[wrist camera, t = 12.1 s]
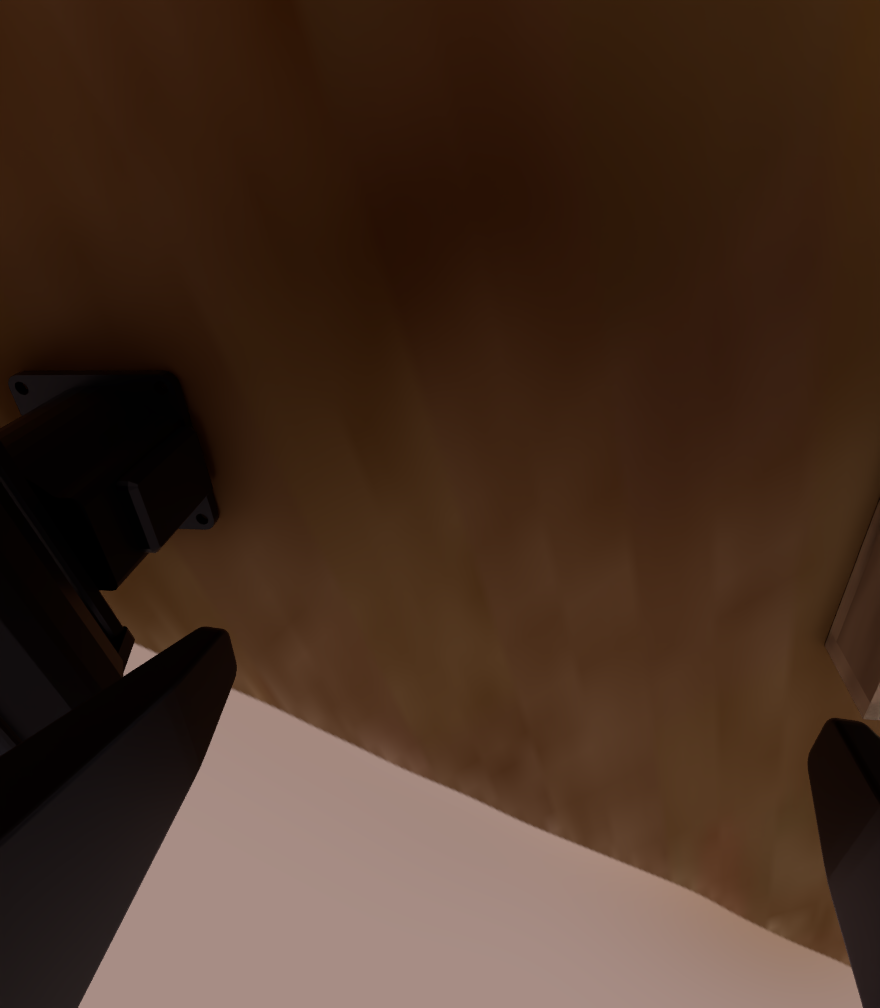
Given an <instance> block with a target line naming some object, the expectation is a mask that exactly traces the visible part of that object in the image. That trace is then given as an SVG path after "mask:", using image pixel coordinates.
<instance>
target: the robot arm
mask: <svg viewBox="0 0 880 1008" xmlns="http://www.w3.org/2000/svg"><path fill="white" fill-rule="evenodd" d="M160 382H163V383H164V384H166V386H167V388H168V391H167V390H165V389H163V388H162V387H161V385H160ZM23 383H24V384H25V385H26V386H27V388H28V389H27V388H25V386H24V385H23ZM8 385H9V388H10V391H11V393H12V395H13V397H14V399H15V402H16V404H17V406H18V408H19V411H20V413H21V415H22V416H21V417H19V418H18V419H16V420H14V421H12V422H11V423H9V424H7V425H6V426H4V427H2V428H0V1008H78V1006H79V1004H80V1002H81V1000H82V999H83V996H84V995H85V993H86V991H87V989H88V987H89V985H90V983H91V981H92V979H93V977H94V975H95V973H96V971H97V969H98V967H99V965H100V963H101V961H102V959H103V957H104V955H105V953H106V952H107V950H108V948H109V946H110V943H111V942H112V940H113V938H114V936H115V934H116V932H117V930H118V928H119V926H120V924H121V922H122V920H123V918H124V916H125V914H126V912H127V910H128V908H129V906H130V905H131V903H132V900H133V899H134V897H135V895H136V893H137V891H138V889H139V887H140V885H141V883H142V881H143V879H144V877H145V875H146V873H147V871H148V869H149V867H150V865H151V863H152V861H153V859H154V857H155V855H156V854H157V852H158V850H159V848H160V846H161V844H162V842H163V840H164V838H165V836H166V834H167V832H168V830H169V828H170V826H171V824H172V822H173V820H174V818H175V816H176V814H177V812H178V811H179V809H180V806H181V805H182V803H183V801H184V799H185V796H186V795H187V793H188V791H189V789H190V787H191V785H192V783H193V781H194V779H195V777H196V775H197V773H198V771H199V769H200V766H201V764H202V762H203V759H204V757H205V755H206V752H207V750H208V747H209V744H210V742H211V739H212V737H213V734H214V732H215V729H216V726H217V724H218V721H219V719H220V716H221V713H222V711H223V708H224V706H225V703H226V700H227V698H228V695H229V693H230V690H231V688H232V685H233V682H234V680H235V676H236V671H237V665H236V660H235V656H234V652H233V648H232V644H231V640H230V636H229V633H228V632H227V631H226V630H224V629H220V628H213V627H201V628H198V629H196V630H195V631H193V632H192V633H190V634H189V635H187V636H185V637H184V638H182V639H181V640H179V641H178V642H176V643H175V644H173V645H172V646H170V647H168V648H167V649H165V650H164V651H162V652H161V653H159V654H158V655H156V656H154V657H153V658H151V659H150V660H148V661H147V662H145V663H144V664H142V665H141V666H139V667H137V668H136V669H134V670H133V671H131V672H130V673H128V674H127V675H125V676H124V677H123V673H124V670H125V667H126V664H127V661H128V658H129V655H130V653H131V650H132V647H133V644H134V641H135V639H134V637H133V636H132V634H131V633H130V631H129V629H128V628H127V627H126V626H122V625H121V623H120V622H119V620H118V619H117V617H116V616H115V614H114V613H113V611H112V609H111V608H110V606H109V605H108V603H107V602H106V600H105V599H104V597H103V596H102V594H101V593H100V591H99V590H107V591H113V590H116V589H117V588H118V587H119V586H120V585H121V583H122V582H123V581H124V580H125V579H126V578H127V577H128V576H129V575H130V573H131V572H132V571H133V570H134V569H135V568H136V567H137V566H138V565H139V563H140V562H141V561H142V560H143V559H144V558H145V557H146V556H147V554H148V553H156V552H158V551H159V550H160V549H161V547H162V546H163V545H164V544H165V543H166V542H167V541H168V539H169V538H170V537H171V536H172V535H173V534H174V533H175V532H176V530H177V529H204V530H205V529H210V528H212V527H213V526H214V524H215V523H216V522H217V520H218V518H219V517H218V512H217V508H216V505H215V501H214V498H213V495H212V491H211V490H212V485H211V481H210V478H209V474H208V471H207V467H206V464H205V461H204V457H203V454H202V450H201V447H200V444H199V440H198V437H197V434H196V432H195V431H194V429H193V427H192V424H191V420H190V417H189V413H188V410H187V407H186V403H185V400H184V396H183V393H182V390H181V386H180V383H179V381H178V379H177V378H176V377H175V376H174V375H173V374H171V373H170V372H168V371H163V370H159V371H23V372H19V373H17V374H15V375H13V376H11V377H10V379H9V382H8ZM201 514H204V515H205V516H206V517H207V518H208V519H206V518H204V517H203V516H202V515H201ZM808 773H809V778H810V784H811V790H812V796H813V802H814V808H815V814H816V820H817V825H818V831H819V837H820V843H821V849H822V855H823V861H824V866H825V871H826V876H827V881H828V885H829V889H830V892H831V896H832V900H833V904H834V907H835V911H836V914H837V918H838V921H839V925H840V928H841V932H842V935H843V939H844V942H845V946H846V949H847V953H848V956H849V960H850V964H851V967H852V971H853V974H854V978H855V981H856V985H857V988H858V992H859V995H860V998H861V1002H862V1006H863V1008H880V737H879V736H878V735H877V734H876V733H875V732H874V731H873V730H872V729H871V728H869V727H868V726H867V725H865V724H864V723H862V722H859V721H854V720H847V719H840V718H831V719H829V720H828V721H827V722H826V723H825V724H824V726H823V728H822V730H821V732H820V734H819V736H818V737H817V739H816V741H815V743H814V745H813V747H812V748H811V750H810V753H809V756H808Z"/></svg>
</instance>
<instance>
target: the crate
mask: <svg viewBox="0 0 880 1008" xmlns="http://www.w3.org/2000/svg"><path fill="white" fill-rule="evenodd" d="M825 647H826V649H827V651H828V653H829V655H830V657H831V659H832V661H833V663H834V664H835V666H836V668H837V670H838V672H839V674H840V676H841V678H842V680H843V682H844V683H845V685H846V687H847V689H848V691H849V693H850V695H851V697H852V699H853V701H854V703H855V704H856V706H857V708H858V710H859V712H860V714H861V716H862V718H863V719H872V720H880V500H879V502H878V505H877V508H876V510H875V513H874V516H873V518H872V521H871V524H870V526H869V529H868V532H867V534H866V537H865V540H864V542H863V545H862V548H861V550H860V553H859V555H858V558H857V561H856V563H855V566H854V569H853V571H852V574H851V577H850V579H849V582H848V585H847V587H846V590H845V593H844V595H843V598H842V601H841V603H840V606H839V609H838V611H837V614H836V616H835V619H834V622H833V624H832V627H831V630H830V632H829V635H828V638H827V640H826V643H825Z"/></svg>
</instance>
